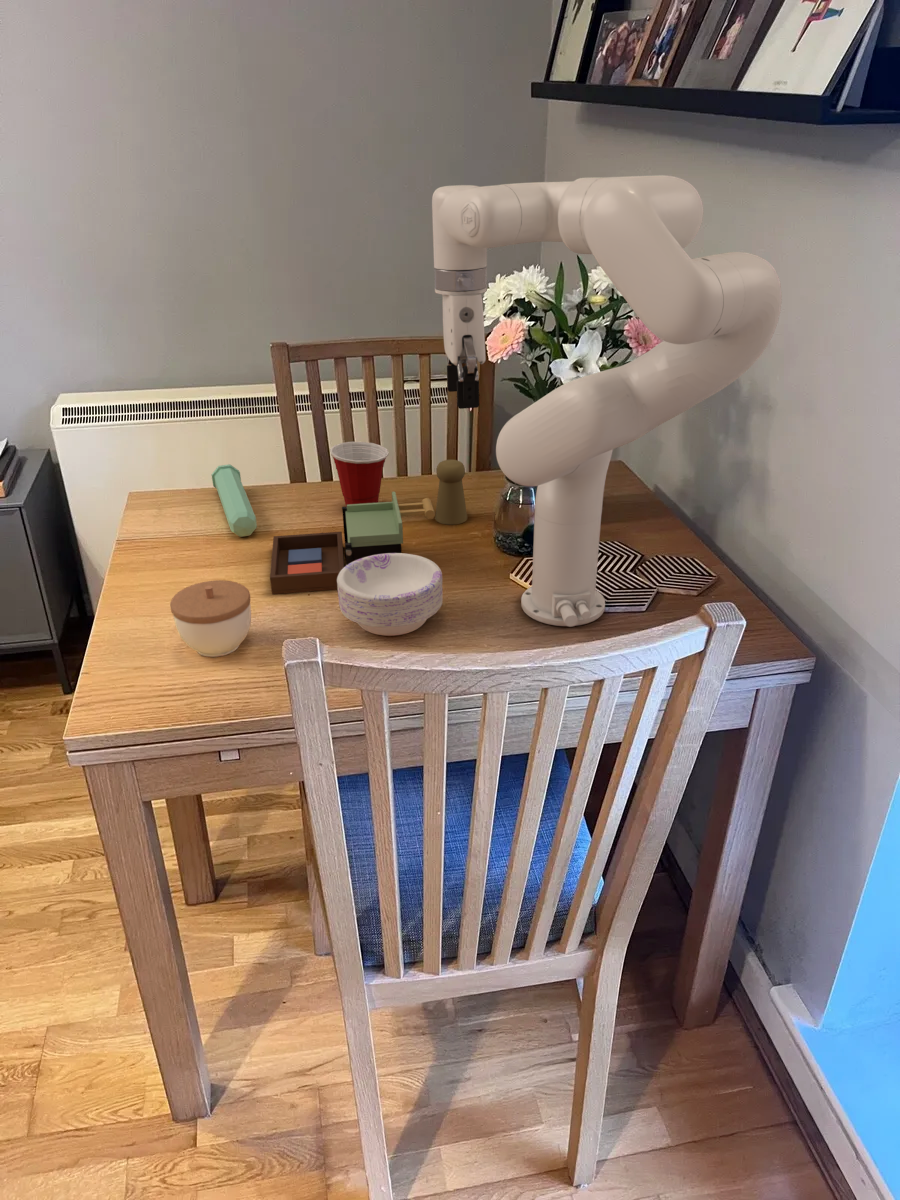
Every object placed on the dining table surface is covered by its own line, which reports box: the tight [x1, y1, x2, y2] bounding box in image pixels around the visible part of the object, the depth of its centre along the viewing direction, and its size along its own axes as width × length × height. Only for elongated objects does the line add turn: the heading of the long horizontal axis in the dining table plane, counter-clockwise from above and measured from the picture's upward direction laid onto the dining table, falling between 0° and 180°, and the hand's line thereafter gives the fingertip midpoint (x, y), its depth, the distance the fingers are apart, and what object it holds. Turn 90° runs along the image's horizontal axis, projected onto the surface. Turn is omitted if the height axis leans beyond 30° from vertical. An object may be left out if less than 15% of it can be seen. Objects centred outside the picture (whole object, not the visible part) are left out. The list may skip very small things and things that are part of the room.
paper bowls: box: [337, 552, 444, 637], centre depth 127 cm, size 15×15×8 cm
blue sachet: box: [288, 548, 322, 565], centre depth 146 cm, size 5×6×1 cm
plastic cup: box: [329, 441, 389, 507], centre depth 163 cm, size 11×11×12 cm
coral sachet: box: [288, 563, 322, 574], centre depth 141 cm, size 5×6×1 cm
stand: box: [341, 506, 402, 565], centre depth 144 cm, size 17×9×8 cm, turn 8°
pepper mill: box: [434, 459, 468, 526], centre depth 159 cm, size 6×6×11 cm
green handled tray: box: [345, 491, 436, 547], centre depth 142 cm, size 13×14×4 cm
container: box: [211, 463, 258, 538], centre depth 164 cm, size 6×6×25 cm
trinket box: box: [169, 579, 252, 658], centre depth 121 cm, size 11×11×9 cm
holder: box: [269, 531, 345, 595], centre depth 143 cm, size 16×12×3 cm
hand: (462, 398), depth 133 cm, fingers open, 9 cm apart
